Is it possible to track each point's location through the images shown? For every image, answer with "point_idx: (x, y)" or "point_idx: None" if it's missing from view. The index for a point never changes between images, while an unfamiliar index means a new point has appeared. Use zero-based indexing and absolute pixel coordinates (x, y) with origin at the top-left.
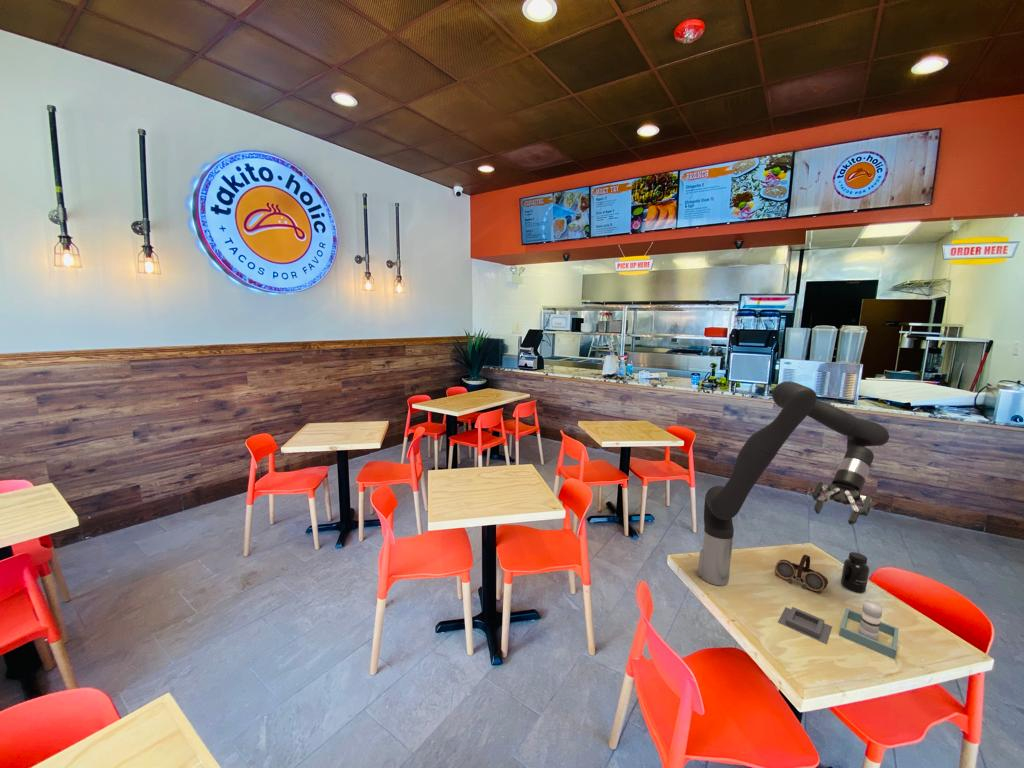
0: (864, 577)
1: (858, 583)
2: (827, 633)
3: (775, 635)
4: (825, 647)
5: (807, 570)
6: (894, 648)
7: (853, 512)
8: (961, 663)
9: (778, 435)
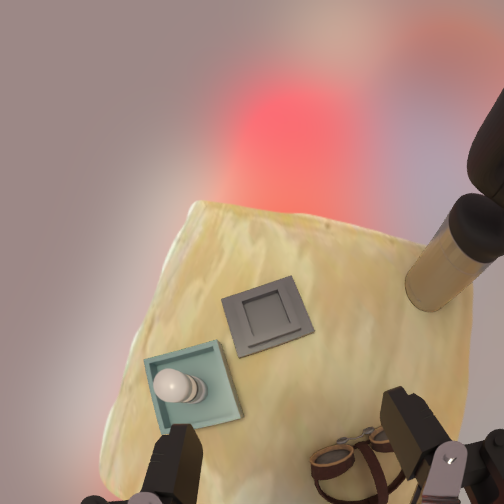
0: None
1: None
2: (233, 328)
3: (277, 254)
4: None
5: (371, 499)
6: (146, 362)
7: (163, 483)
8: (107, 445)
9: None
